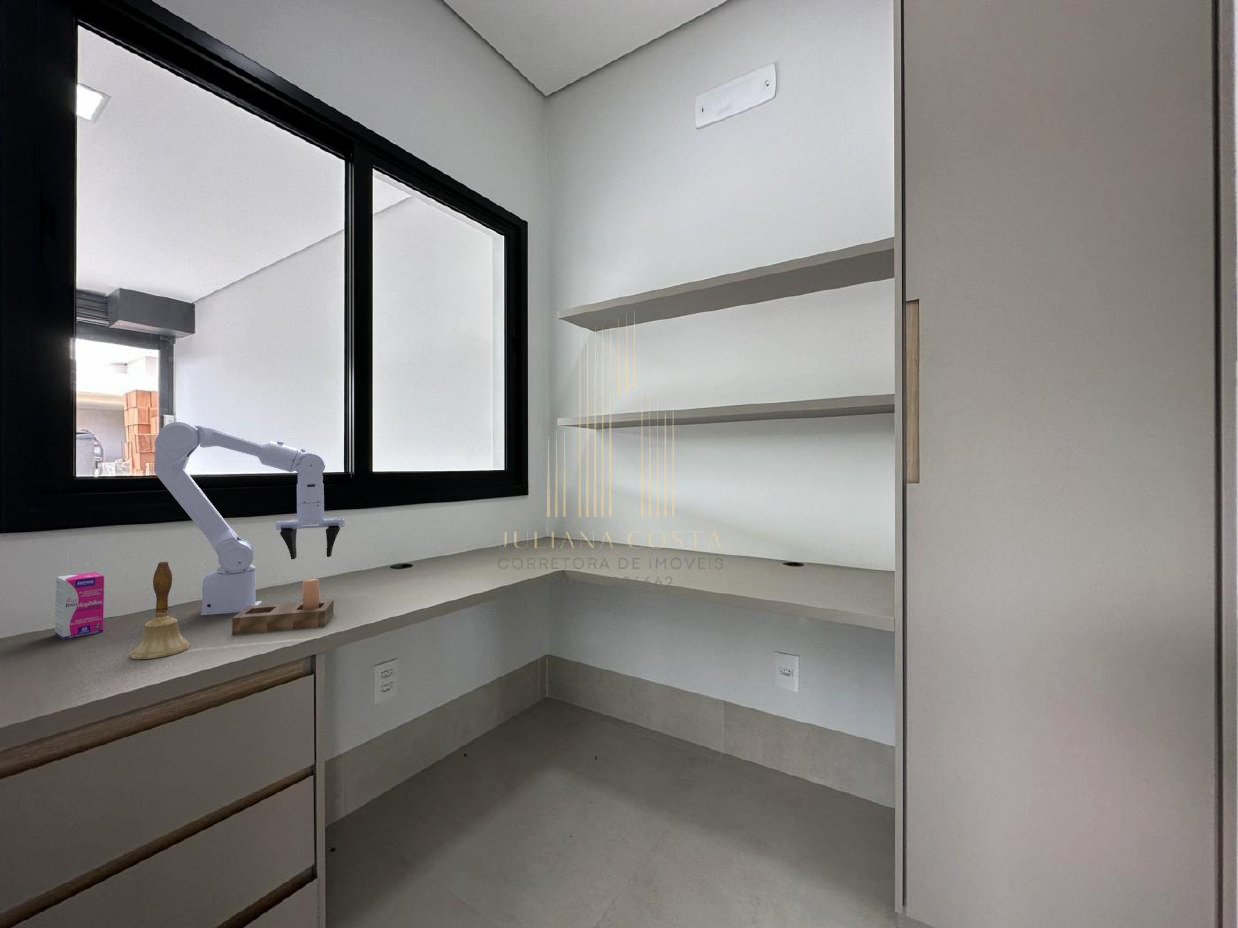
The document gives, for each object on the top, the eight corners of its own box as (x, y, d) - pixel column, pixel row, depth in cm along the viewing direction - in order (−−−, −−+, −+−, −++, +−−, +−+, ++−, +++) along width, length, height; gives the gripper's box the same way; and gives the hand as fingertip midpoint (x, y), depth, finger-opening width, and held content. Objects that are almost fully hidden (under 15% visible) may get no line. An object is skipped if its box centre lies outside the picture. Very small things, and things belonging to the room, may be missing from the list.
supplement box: (62, 640, 99) (62, 580, 99) (54, 634, 102) (54, 576, 102) (104, 632, 104) (104, 574, 104) (95, 626, 107) (95, 571, 107)
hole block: (232, 635, 101) (232, 617, 101) (248, 622, 110) (248, 605, 110) (325, 627, 107) (325, 610, 107) (333, 615, 115) (333, 599, 115)
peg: (301, 625, 108) (301, 582, 108) (303, 621, 111) (303, 579, 111) (317, 624, 109) (317, 581, 109) (319, 620, 112) (320, 578, 112)
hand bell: (166, 641, 98) (166, 557, 98) (202, 644, 96) (202, 559, 96) (116, 658, 90) (116, 565, 90) (155, 661, 88) (155, 567, 88)
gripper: (271, 504, 122) (272, 562, 122) (340, 502, 127) (341, 558, 127) (280, 502, 129) (281, 557, 129) (345, 500, 133) (346, 553, 133)
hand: (311, 557), depth 128 cm, fingers open, 7 cm apart
